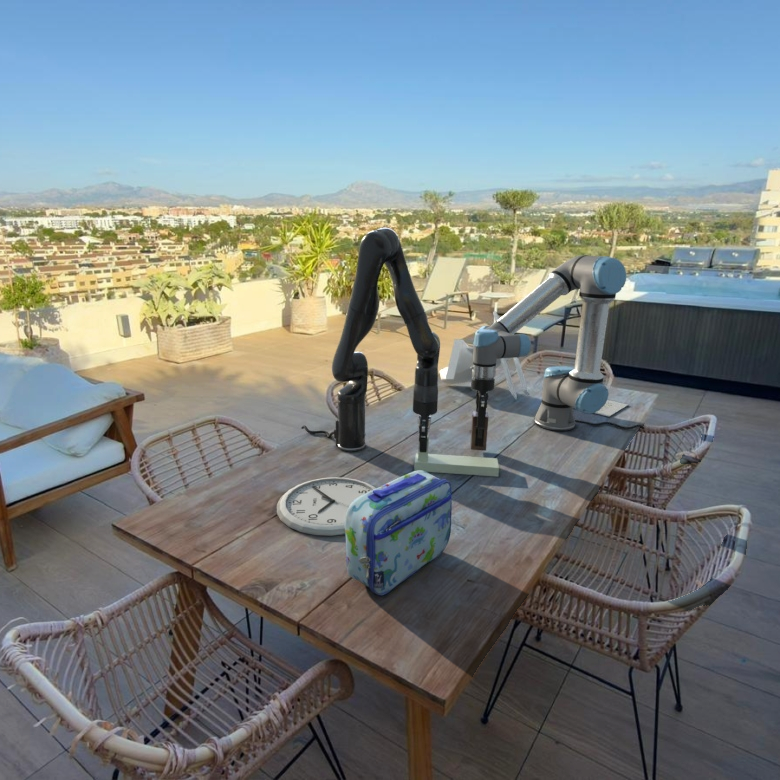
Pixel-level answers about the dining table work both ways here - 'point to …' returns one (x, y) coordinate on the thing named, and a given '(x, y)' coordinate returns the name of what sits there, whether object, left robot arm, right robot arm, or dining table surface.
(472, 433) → the walnut block
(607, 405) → the invitation card
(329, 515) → the wall clock
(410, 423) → the dining table surface
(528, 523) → the dining table surface
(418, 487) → the lunch box
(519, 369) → the white plastic object
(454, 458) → the pale green l-shaped block
